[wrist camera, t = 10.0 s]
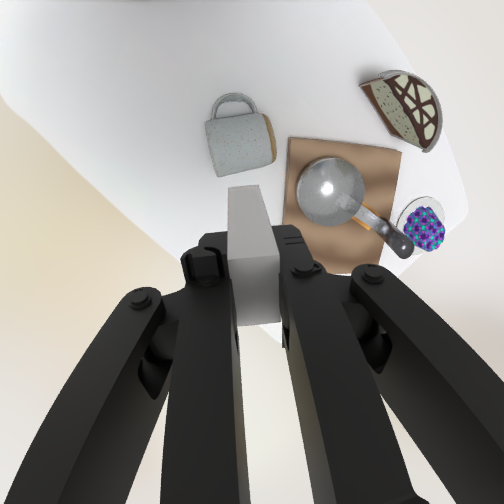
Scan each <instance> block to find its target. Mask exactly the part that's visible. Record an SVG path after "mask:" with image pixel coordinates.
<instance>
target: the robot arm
mask: <svg viewBox="0 0 504 504" xmlns="http://www.w3.org/2000/svg"><path fill="white" fill-rule="evenodd" d="M180 260H181V264H182V268H183V272H184V277H185V280H186V284H185V287H184V288H183V289H181V290H179V291H177V292H174V293H171V294H168V295H165V296H161V293H160V292H159V291H158V290H157V289H156V288H152V287H141V288H137V289H134V290H133V291H131V292H129V293H127V294H126V296H124V297H123V298H122V300H121V301H120V302H119V304H118V305H117V307H116V308H115V309H114V311H113V312H112V314H111V315H110V316H109V318H108V319H107V321H106V322H105V324H104V325H103V326H102V328H101V329H100V331H99V332H98V334H97V335H96V337H95V338H94V340H93V341H92V343H91V344H90V346H89V347H88V349H87V350H86V352H85V353H84V355H83V356H82V358H81V359H80V361H79V362H78V364H77V366H76V367H75V369H74V370H73V372H72V373H71V375H70V377H69V378H68V380H67V382H66V383H65V385H64V386H63V388H62V390H61V391H60V394H59V395H58V397H57V398H56V400H55V402H54V403H53V405H52V407H51V409H50V410H49V412H48V414H47V416H46V417H45V419H44V421H43V423H42V425H41V426H40V428H39V430H38V432H37V434H36V436H35V438H34V440H33V441H32V443H31V445H30V447H29V450H28V451H27V453H26V455H25V457H24V460H23V461H22V464H21V466H20V468H19V470H18V472H17V474H16V477H15V479H14V481H13V483H12V486H11V488H10V490H9V492H8V495H7V497H6V500H5V502H4V504H125V503H126V500H127V498H128V495H129V492H130V489H131V487H132V484H133V481H134V479H135V476H136V473H137V471H138V468H139V466H140V463H141V460H142V458H143V455H144V453H145V450H146V448H147V445H148V442H149V440H150V437H151V434H152V432H153V429H154V427H155V424H156V422H157V420H158V417H159V414H160V412H161V410H162V407H163V405H164V402H165V400H166V397H167V395H168V392H169V397H168V405H167V415H166V424H165V435H164V447H163V459H162V474H161V492H160V504H251V502H250V491H249V478H248V466H247V454H246V440H245V427H244V413H243V398H242V383H241V367H240V352H239V336H238V330H237V326H248V325H258V324H267V323H276V322H281V319H282V348H285V349H286V354H287V360H288V365H289V370H290V375H291V380H292V385H293V390H294V396H295V401H296V406H297V411H298V416H299V422H300V427H301V433H302V438H303V443H304V449H305V454H306V460H307V465H308V471H309V476H310V482H311V488H312V493H313V499H314V504H429V502H428V501H426V500H425V499H423V498H421V497H419V496H418V495H417V494H416V493H415V491H414V490H413V487H412V484H411V481H410V478H409V475H408V471H407V468H406V465H405V462H404V459H403V456H402V453H401V450H400V447H399V444H398V441H397V439H396V436H395V433H394V430H393V428H392V425H391V422H390V419H389V416H388V414H387V411H386V408H385V406H384V403H383V401H382V398H381V395H382V397H383V398H384V400H385V401H386V403H387V404H388V405H389V407H390V408H391V410H392V411H393V412H394V414H395V415H396V416H397V418H398V419H399V421H400V422H401V423H402V425H403V426H404V428H405V429H406V431H407V432H408V434H409V435H410V436H411V438H412V439H413V441H414V442H415V444H416V445H417V446H418V448H419V449H420V451H421V452H422V454H423V455H424V457H425V458H426V459H427V461H428V462H429V464H430V465H431V467H432V468H433V470H434V471H435V473H436V474H437V475H438V477H439V478H440V480H441V481H442V483H443V484H444V486H445V487H446V489H447V490H448V492H449V493H450V495H451V496H452V498H453V499H454V501H455V502H456V504H504V382H503V381H502V380H501V379H500V378H499V377H498V375H497V374H496V373H495V372H494V371H493V370H492V369H491V368H490V367H489V366H488V365H487V363H486V362H485V361H484V360H483V359H482V358H481V357H480V356H479V355H478V354H477V353H476V352H475V351H474V350H473V349H472V348H471V347H470V346H469V345H468V344H467V343H466V342H465V341H464V340H463V339H462V338H461V337H460V336H459V335H458V334H457V333H456V332H455V331H454V330H453V329H452V328H451V327H450V326H449V325H448V324H447V323H446V322H445V321H444V320H443V319H442V318H441V317H440V316H439V315H438V314H437V313H436V312H435V311H434V310H433V309H431V308H430V307H429V306H428V305H427V304H426V303H425V302H424V301H423V300H422V299H420V298H419V297H418V296H417V295H416V294H415V293H414V292H413V291H412V290H411V289H409V288H408V287H407V286H406V285H405V284H404V283H403V282H402V281H401V280H399V279H398V278H397V277H396V276H395V275H394V274H392V273H391V272H390V271H389V270H387V269H386V268H384V267H383V266H379V265H376V264H361V265H359V266H357V267H355V268H354V269H353V271H352V274H351V276H342V275H334V274H330V273H327V271H326V269H325V267H324V266H323V265H322V264H321V263H319V262H317V261H315V260H313V257H312V255H311V253H310V251H309V249H308V247H307V244H306V243H305V240H304V238H303V236H302V234H301V232H300V230H299V229H298V228H296V227H295V226H294V225H292V224H289V225H278V226H271V224H270V221H269V217H268V214H267V211H266V207H265V204H264V201H263V197H262V194H261V191H260V188H259V185H249V186H239V187H229V188H228V231H225V232H215V233H205V234H204V235H203V236H202V238H201V239H200V240H199V243H198V246H196V247H194V248H191V249H189V250H188V251H186V252H185V253H184V254H183V255H182V257H181V258H180ZM380 394H381V395H380Z"/></svg>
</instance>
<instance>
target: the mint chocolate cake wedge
mask: <svg viewBox="0 0 504 504" xmlns="http://www.w3.org/2000/svg"><path fill="white" fill-rule="evenodd" d="M378 76H380V77H382V78H379V79H376V80H372V81H369V82H366V83H363V84H361V85H359V87H360V88H361V90H362V91H363V93H364V94H365V96H366V97H367V99H368V100H369V102H370V103H371V105H372V106H373V108H374V109H375V111H376V112H377V114H378V116H379V117H380V119H381V120H382V122H383V124H384V125H385V127H386V129H387V130H388V132H389V134H390V135H392V136H394V137H397V138H399V139H401V140H404V141H406V142H408V143H410V144H412V145H415V146H417V147H419V148H421V149H423V150H422V152H425V153H427V152H430V151H431V150H432V149H433V148H434V146H435V145H436V143H437V141H438V140H439V137H440V134H441V130H442V123H443V118H442V110H441V106H440V103H439V100H438V98H437V96H436V94H435V92H434V91H433V89H432V88H431V87H430V86H429V85H428V84H427V83H426V82H425V81H424V80H423V79H421V78H420V77H418V76H416V75H414V74H412V73H408V72H405V71H401V70H389V71H386V72H383V73H381V74H379V75H378Z"/></svg>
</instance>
